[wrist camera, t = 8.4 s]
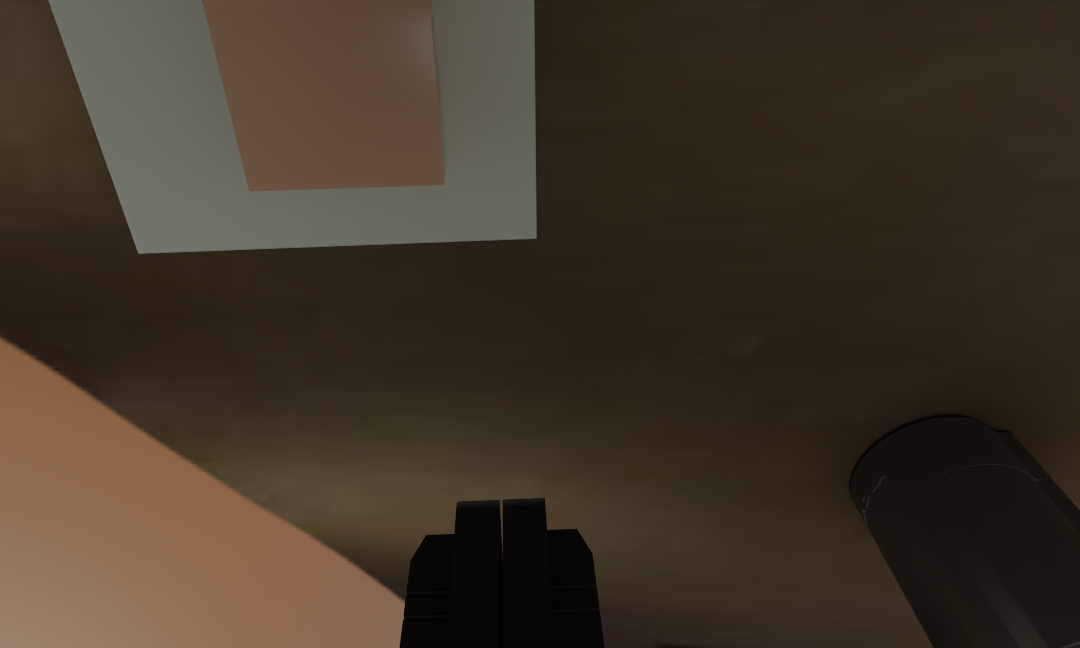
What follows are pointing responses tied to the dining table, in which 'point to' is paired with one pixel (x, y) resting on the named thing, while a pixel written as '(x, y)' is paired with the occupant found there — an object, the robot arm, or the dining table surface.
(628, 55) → the dining table surface
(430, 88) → the tile
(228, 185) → the mat
